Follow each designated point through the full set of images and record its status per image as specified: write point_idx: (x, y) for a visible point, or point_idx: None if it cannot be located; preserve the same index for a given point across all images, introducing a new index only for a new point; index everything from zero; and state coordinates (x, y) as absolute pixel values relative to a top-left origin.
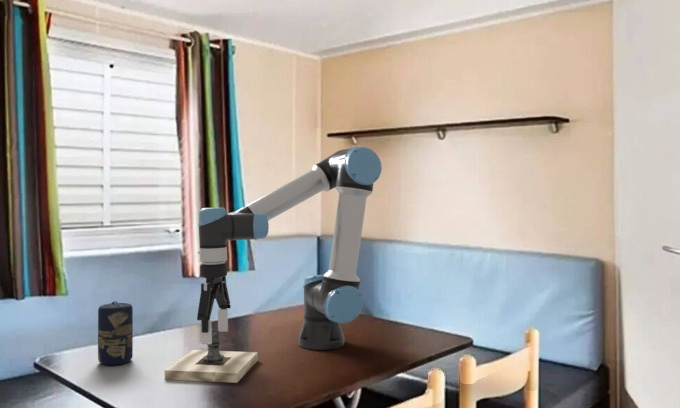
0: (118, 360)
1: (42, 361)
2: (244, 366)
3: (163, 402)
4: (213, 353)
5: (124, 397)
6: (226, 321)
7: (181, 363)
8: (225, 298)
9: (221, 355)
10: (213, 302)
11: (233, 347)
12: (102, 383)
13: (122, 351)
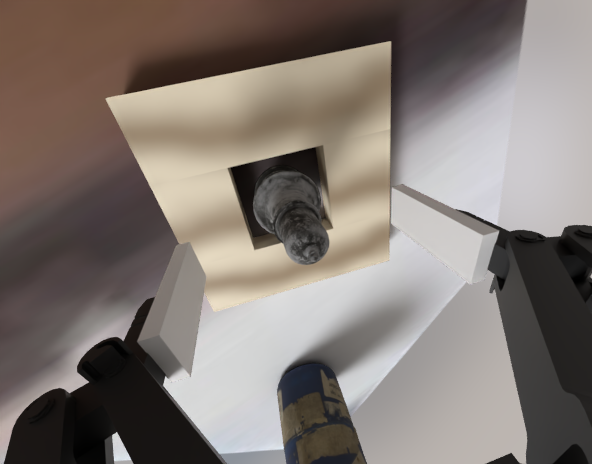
0: (328, 370)
1: None
2: (302, 59)
3: (505, 162)
4: (308, 201)
5: None
6: (180, 275)
7: (334, 261)
8: (137, 455)
9: (275, 185)
10: (555, 347)
11: (41, 271)
12: (410, 317)
13: (327, 385)
